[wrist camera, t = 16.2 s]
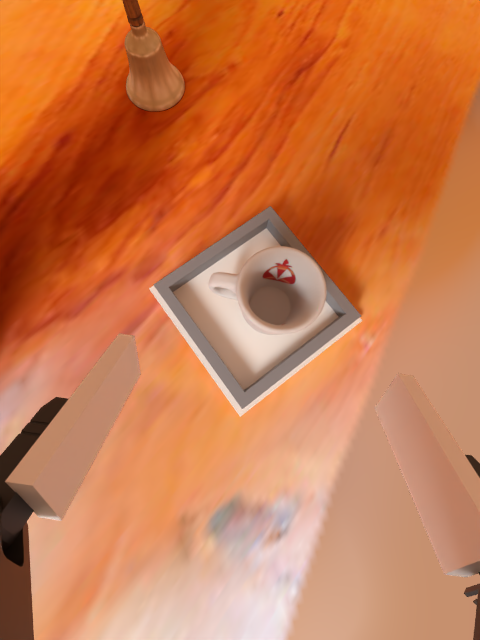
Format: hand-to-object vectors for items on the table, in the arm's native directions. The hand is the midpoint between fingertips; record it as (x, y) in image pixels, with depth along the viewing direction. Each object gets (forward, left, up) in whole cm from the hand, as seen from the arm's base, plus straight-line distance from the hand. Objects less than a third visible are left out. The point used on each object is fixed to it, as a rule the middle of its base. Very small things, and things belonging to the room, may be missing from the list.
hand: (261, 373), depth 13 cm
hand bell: (-39, +13, -17) cm, 45 cm away
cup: (-5, +5, -16) cm, 17 cm away
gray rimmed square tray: (-5, +5, -17) cm, 18 cm away
